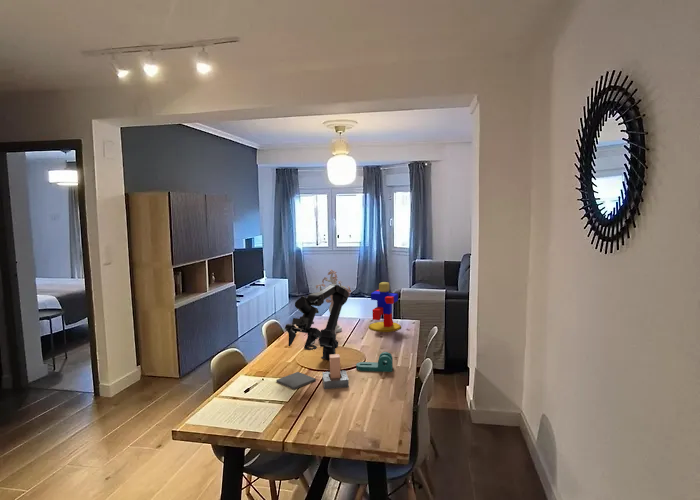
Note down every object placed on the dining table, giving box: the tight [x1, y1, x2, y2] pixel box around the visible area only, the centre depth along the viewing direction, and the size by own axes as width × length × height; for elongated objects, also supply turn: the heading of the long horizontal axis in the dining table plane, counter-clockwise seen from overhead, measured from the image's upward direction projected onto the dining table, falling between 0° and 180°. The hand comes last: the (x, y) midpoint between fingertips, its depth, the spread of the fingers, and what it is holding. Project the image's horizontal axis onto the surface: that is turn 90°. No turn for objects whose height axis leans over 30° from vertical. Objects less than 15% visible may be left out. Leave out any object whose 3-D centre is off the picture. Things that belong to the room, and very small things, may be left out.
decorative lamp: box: [315, 269, 353, 334], centre depth 279 cm, size 28×24×40 cm
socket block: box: [321, 370, 350, 390], centre depth 200 cm, size 11×11×4 cm
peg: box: [329, 353, 341, 379], centre depth 199 cm, size 4×4×13 cm
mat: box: [275, 371, 317, 390], centre depth 203 cm, size 13×13×1 cm
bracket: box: [355, 351, 394, 373], centre depth 216 cm, size 18×7×8 cm, turn 81°
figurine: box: [368, 281, 402, 333], centre depth 287 cm, size 22×22×30 cm
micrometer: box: [305, 340, 318, 351], centre depth 254 cm, size 15×7×2 cm, turn 163°
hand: (296, 347), depth 208 cm, fingers open, 9 cm apart
